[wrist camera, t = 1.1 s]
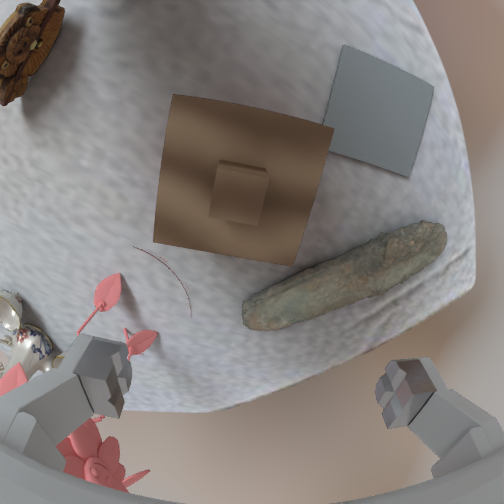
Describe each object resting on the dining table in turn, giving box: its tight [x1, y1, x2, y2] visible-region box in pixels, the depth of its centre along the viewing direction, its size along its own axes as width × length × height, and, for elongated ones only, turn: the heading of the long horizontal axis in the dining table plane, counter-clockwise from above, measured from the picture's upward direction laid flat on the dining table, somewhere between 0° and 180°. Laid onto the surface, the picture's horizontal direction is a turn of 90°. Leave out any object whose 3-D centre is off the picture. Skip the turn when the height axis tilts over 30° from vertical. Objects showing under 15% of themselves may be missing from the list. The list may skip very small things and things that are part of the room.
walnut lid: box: [153, 94, 335, 266], centre depth 25 cm, size 14×14×4 cm
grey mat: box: [322, 45, 434, 177], centre depth 33 cm, size 14×14×1 cm
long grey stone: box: [242, 220, 447, 330], centre depth 43 cm, size 35×5×10 cm
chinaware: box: [0, 290, 69, 381], centre depth 42 cm, size 28×17×17 cm, turn 44°
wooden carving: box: [0, 0, 65, 106], centre depth 21 cm, size 16×5×10 cm, turn 147°
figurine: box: [0, 246, 191, 493], centre depth 30 cm, size 15×26×35 cm, turn 15°
